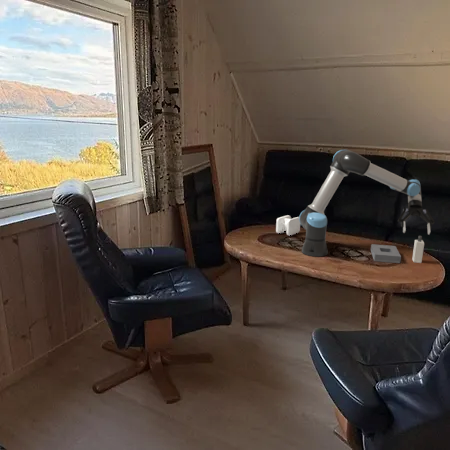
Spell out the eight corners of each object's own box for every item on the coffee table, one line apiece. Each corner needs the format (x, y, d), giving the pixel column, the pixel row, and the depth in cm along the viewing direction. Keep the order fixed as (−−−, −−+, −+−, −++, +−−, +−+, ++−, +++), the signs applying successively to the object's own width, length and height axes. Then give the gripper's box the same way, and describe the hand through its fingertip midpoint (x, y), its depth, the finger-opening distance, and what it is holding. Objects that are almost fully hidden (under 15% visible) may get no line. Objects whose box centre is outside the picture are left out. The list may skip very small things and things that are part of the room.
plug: (413, 262, 239) (417, 237, 235) (412, 259, 243) (415, 234, 240) (421, 262, 238) (425, 237, 234) (419, 260, 243) (423, 235, 239)
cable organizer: (287, 237, 284) (288, 220, 281) (275, 234, 291) (275, 217, 288) (300, 232, 294) (301, 216, 291) (287, 230, 301) (288, 214, 298)
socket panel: (374, 261, 240) (374, 254, 239) (370, 250, 259) (371, 244, 258) (400, 263, 237) (401, 256, 236) (394, 252, 256) (395, 246, 255)
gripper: (435, 207, 257) (437, 237, 247) (392, 204, 263) (393, 234, 252) (438, 200, 251) (441, 231, 241) (394, 197, 256) (395, 227, 246)
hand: (416, 232), depth 247 cm, fingers open, 13 cm apart
